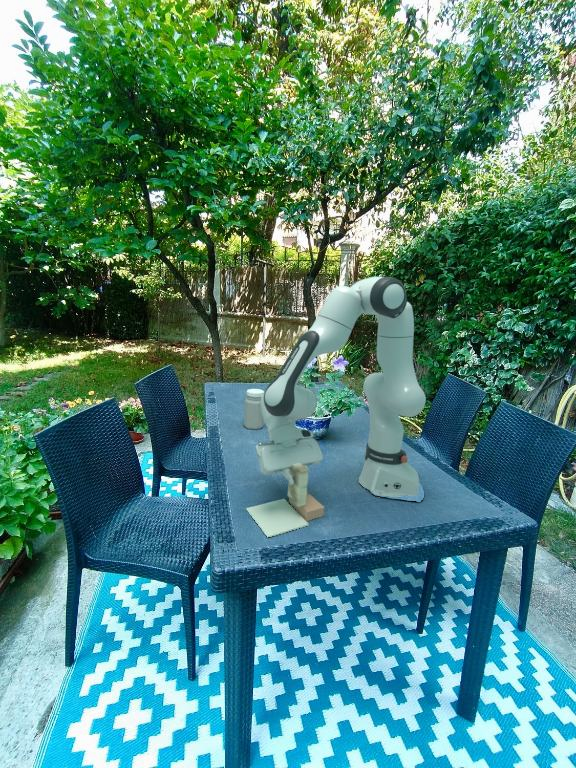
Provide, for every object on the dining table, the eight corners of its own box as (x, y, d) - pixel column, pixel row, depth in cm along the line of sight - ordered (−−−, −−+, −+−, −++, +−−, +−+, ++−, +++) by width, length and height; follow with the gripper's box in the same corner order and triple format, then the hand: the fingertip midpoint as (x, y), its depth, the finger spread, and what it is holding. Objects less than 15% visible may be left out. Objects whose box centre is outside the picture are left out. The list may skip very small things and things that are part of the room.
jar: (254, 431, 164) (256, 394, 160) (239, 426, 170) (240, 390, 166) (267, 426, 172) (270, 391, 168) (253, 421, 178) (254, 387, 173)
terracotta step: (288, 503, 109) (289, 494, 108) (305, 498, 112) (305, 490, 111) (306, 521, 101) (307, 512, 100) (323, 516, 104) (324, 507, 103)
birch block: (287, 496, 105) (290, 462, 103) (294, 494, 107) (297, 461, 104) (298, 506, 100) (301, 471, 98) (305, 504, 102) (308, 470, 99)
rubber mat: (245, 510, 104) (245, 508, 104) (284, 500, 110) (284, 498, 110) (267, 538, 92) (267, 536, 92) (308, 525, 99) (308, 524, 99)
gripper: (257, 439, 100) (271, 487, 94) (316, 430, 110) (332, 473, 104) (250, 447, 105) (263, 493, 99) (307, 438, 115) (322, 479, 109)
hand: (299, 482), depth 102 cm, fingers closed on birch block, 2 cm apart
